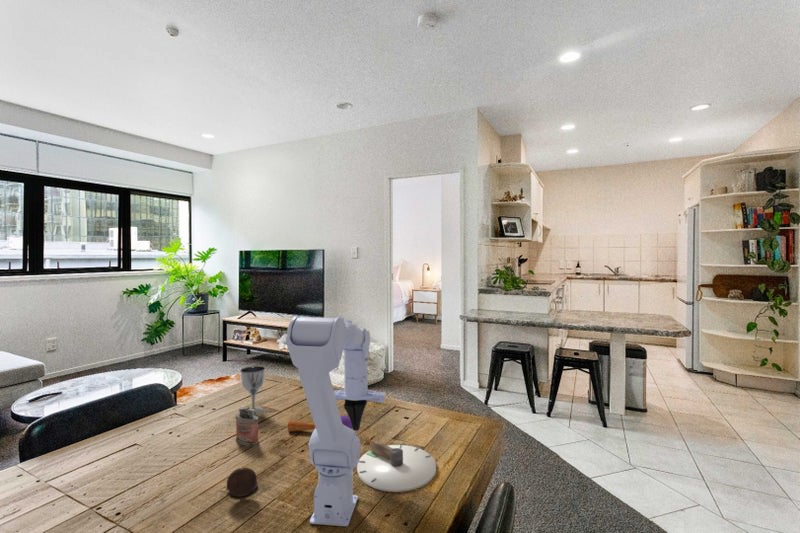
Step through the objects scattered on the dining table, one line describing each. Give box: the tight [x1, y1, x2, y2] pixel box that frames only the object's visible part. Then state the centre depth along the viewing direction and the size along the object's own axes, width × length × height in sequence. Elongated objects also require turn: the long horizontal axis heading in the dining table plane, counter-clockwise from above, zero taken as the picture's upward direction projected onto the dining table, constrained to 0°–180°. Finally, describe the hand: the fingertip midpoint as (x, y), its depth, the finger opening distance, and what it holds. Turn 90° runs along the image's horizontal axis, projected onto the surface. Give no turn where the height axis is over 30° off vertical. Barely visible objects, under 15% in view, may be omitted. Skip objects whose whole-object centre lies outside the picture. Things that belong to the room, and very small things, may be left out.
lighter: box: [234, 406, 260, 447], centre depth 112 cm, size 8×3×10 cm, turn 62°
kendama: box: [287, 415, 353, 433], centre depth 117 cm, size 6×6×20 cm
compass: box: [219, 466, 258, 498], centre depth 88 cm, size 8×8×7 cm
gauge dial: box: [356, 444, 437, 493], centre depth 98 cm, size 20×20×1 cm
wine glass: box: [240, 365, 266, 416], centre depth 134 cm, size 8×8×15 cm
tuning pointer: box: [369, 439, 403, 466], centre depth 100 cm, size 11×3×3 cm, turn 49°
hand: (356, 428), depth 97 cm, fingers closed
